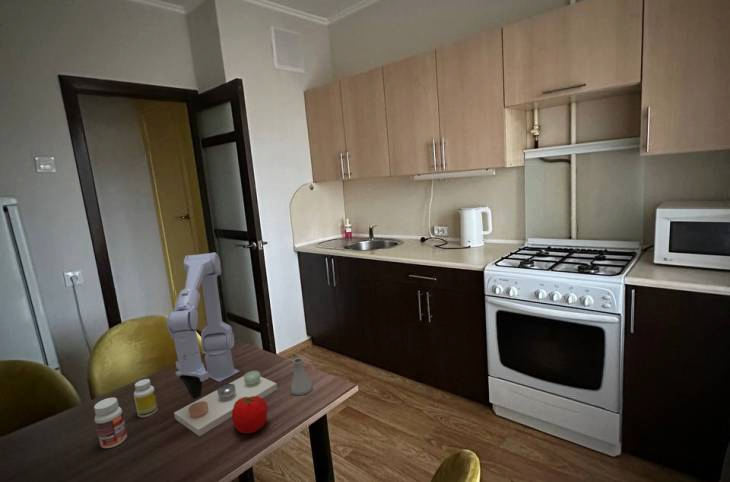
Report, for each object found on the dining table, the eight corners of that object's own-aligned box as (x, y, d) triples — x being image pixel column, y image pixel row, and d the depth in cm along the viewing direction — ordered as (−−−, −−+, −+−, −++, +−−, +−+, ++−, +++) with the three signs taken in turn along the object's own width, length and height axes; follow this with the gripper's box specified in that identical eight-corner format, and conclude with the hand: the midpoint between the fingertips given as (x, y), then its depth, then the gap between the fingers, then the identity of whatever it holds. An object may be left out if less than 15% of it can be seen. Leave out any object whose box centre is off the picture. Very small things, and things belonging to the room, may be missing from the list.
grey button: (215, 395, 114) (214, 389, 114) (229, 387, 118) (229, 382, 118) (224, 400, 111) (223, 394, 111) (239, 391, 115) (238, 386, 115)
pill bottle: (122, 446, 100) (113, 407, 98) (96, 451, 99) (87, 412, 97) (131, 431, 106) (123, 394, 104) (106, 436, 105) (98, 399, 103)
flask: (315, 382, 122) (312, 354, 121) (310, 395, 115) (306, 365, 114) (293, 383, 123) (290, 354, 122) (287, 396, 116) (283, 366, 114)
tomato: (251, 443, 96) (246, 413, 95) (224, 432, 102) (219, 404, 100) (277, 422, 104) (273, 394, 103) (251, 412, 109) (247, 386, 108)
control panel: (175, 418, 110) (173, 412, 109) (251, 377, 129) (250, 372, 129) (199, 436, 101) (198, 429, 101) (277, 389, 121) (276, 383, 120)
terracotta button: (186, 413, 108) (185, 408, 107) (202, 404, 111) (202, 399, 111) (195, 419, 104) (193, 414, 104) (211, 410, 108) (210, 404, 108)
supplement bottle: (161, 411, 114) (155, 381, 113) (141, 420, 111) (134, 389, 109) (154, 404, 118) (148, 375, 116) (135, 413, 114) (129, 383, 113)
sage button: (241, 381, 121) (240, 376, 121) (254, 374, 125) (253, 369, 125) (250, 385, 118) (249, 380, 118) (263, 378, 122) (262, 373, 121)
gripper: (161, 352, 106) (170, 396, 109) (186, 364, 97) (195, 412, 100) (186, 342, 112) (194, 384, 114) (212, 353, 103) (220, 399, 105)
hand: (196, 396), depth 107 cm, fingers closed
